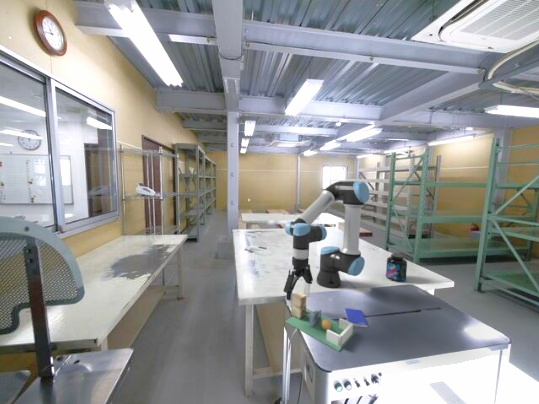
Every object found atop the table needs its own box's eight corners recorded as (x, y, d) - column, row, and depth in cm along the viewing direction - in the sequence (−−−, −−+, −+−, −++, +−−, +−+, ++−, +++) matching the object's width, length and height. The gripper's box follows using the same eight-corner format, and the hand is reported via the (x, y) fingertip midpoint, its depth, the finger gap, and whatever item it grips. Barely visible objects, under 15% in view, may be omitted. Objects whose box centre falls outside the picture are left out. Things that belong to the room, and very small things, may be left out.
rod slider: (298, 309, 113) (299, 290, 112) (320, 320, 105) (321, 300, 104) (289, 315, 108) (290, 295, 107) (312, 327, 100) (313, 306, 99)
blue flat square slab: (367, 325, 102) (361, 310, 114) (348, 322, 103) (344, 308, 115) (367, 328, 102) (361, 313, 114) (348, 326, 103) (344, 311, 115)
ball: (324, 325, 102) (324, 316, 102) (332, 329, 99) (332, 320, 99) (319, 329, 99) (319, 320, 99) (327, 333, 96) (328, 324, 96)
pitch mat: (305, 308, 116) (305, 307, 116) (356, 332, 98) (356, 331, 98) (285, 322, 104) (285, 321, 104) (338, 351, 87) (339, 350, 86)
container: (386, 280, 152) (388, 255, 151) (384, 275, 163) (386, 251, 163) (407, 284, 147) (409, 258, 147) (404, 277, 159) (405, 254, 158)
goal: (339, 326, 101) (340, 317, 101) (353, 332, 97) (353, 323, 97) (326, 339, 92) (326, 330, 92) (340, 347, 88) (340, 337, 88)
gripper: (308, 250, 118) (306, 290, 120) (276, 260, 100) (274, 307, 101) (321, 253, 113) (319, 295, 115) (290, 265, 95) (288, 314, 96)
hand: (298, 301), depth 108 cm, fingers open, 13 cm apart
